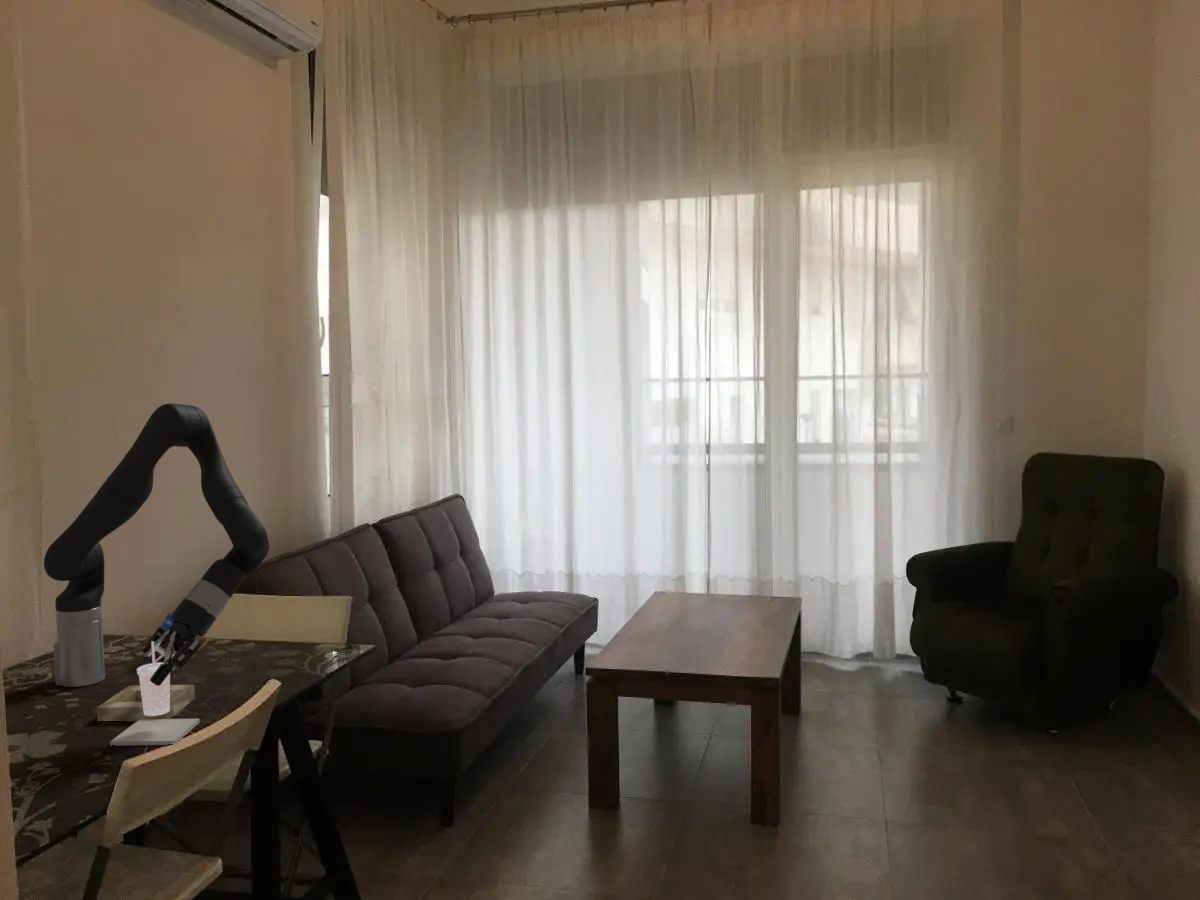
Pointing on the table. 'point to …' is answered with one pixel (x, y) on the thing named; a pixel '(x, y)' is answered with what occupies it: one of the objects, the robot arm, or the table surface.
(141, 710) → the cup holder
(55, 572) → the robot arm
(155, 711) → the beverage cup
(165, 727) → the coaster
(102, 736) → the table surface
